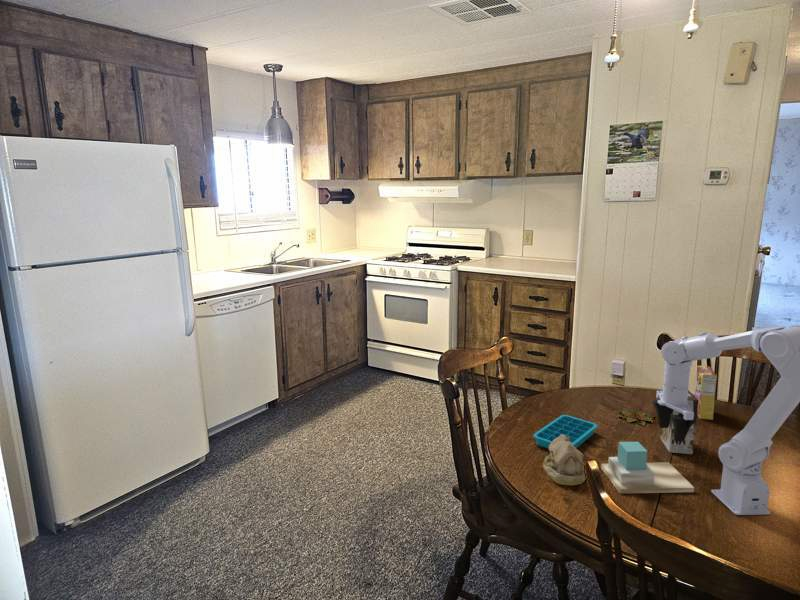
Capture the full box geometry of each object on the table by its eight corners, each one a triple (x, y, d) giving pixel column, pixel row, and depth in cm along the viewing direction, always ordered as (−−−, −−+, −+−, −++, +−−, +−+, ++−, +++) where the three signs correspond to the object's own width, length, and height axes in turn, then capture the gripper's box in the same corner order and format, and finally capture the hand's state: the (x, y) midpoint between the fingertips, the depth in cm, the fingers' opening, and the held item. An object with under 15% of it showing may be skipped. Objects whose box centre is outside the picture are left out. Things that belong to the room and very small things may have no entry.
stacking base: (693, 492, 123) (695, 476, 122) (620, 493, 123) (621, 477, 122) (668, 466, 135) (669, 452, 134) (600, 467, 135) (601, 453, 134)
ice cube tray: (598, 433, 155) (599, 424, 154) (568, 458, 140) (568, 448, 140) (562, 422, 162) (563, 414, 162) (531, 445, 148) (531, 435, 148)
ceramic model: (538, 457, 141) (540, 424, 139) (579, 458, 140) (581, 424, 138) (550, 486, 127) (551, 449, 125) (595, 486, 126) (598, 450, 124)
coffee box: (693, 454, 140) (699, 400, 137) (668, 452, 142) (673, 399, 138) (682, 439, 149) (687, 388, 146) (659, 437, 150) (663, 386, 147)
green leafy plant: (609, 419, 165) (610, 405, 164) (625, 408, 173) (626, 395, 172) (646, 430, 156) (647, 417, 155) (662, 419, 164) (663, 406, 163)
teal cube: (645, 469, 125) (647, 451, 124) (625, 470, 125) (627, 451, 124) (636, 459, 130) (638, 441, 129) (617, 459, 130) (618, 442, 129)
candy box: (692, 407, 171) (696, 365, 168) (707, 409, 169) (711, 366, 166) (697, 418, 162) (702, 373, 159) (713, 420, 161) (718, 375, 158)
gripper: (646, 375, 137) (643, 422, 140) (675, 396, 123) (670, 447, 126) (672, 375, 137) (668, 421, 140) (704, 395, 123) (698, 446, 126)
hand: (671, 433), depth 133 cm, fingers open, 7 cm apart
